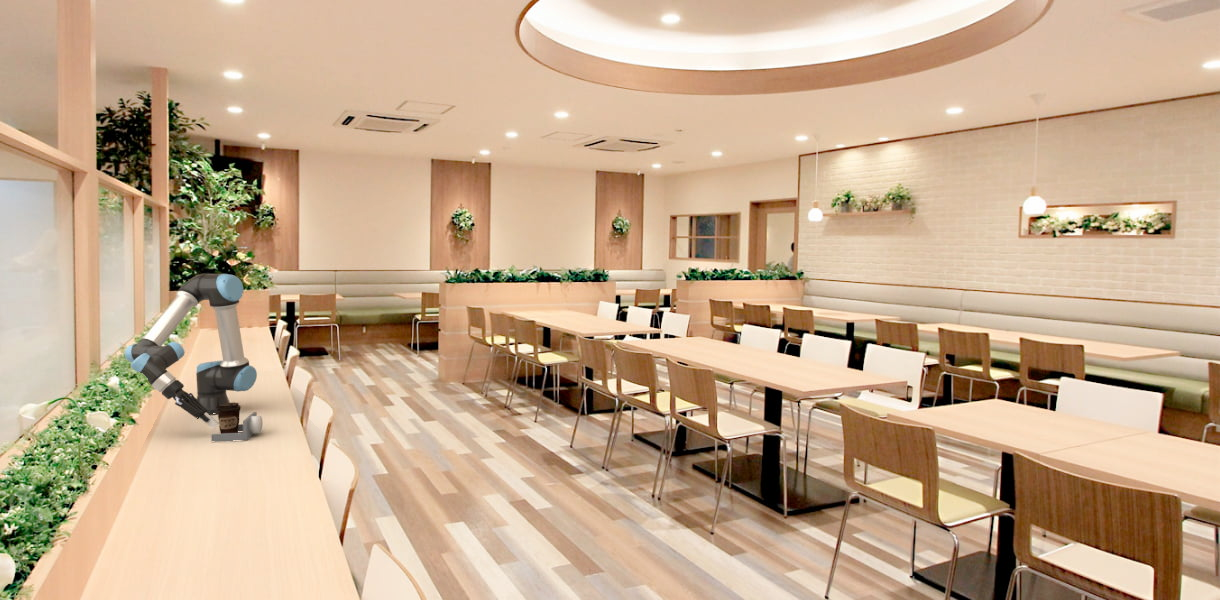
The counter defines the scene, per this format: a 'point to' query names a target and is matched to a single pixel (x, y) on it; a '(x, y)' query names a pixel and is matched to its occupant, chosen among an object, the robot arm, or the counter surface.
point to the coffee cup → (228, 417)
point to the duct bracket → (242, 429)
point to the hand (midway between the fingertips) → (215, 426)
